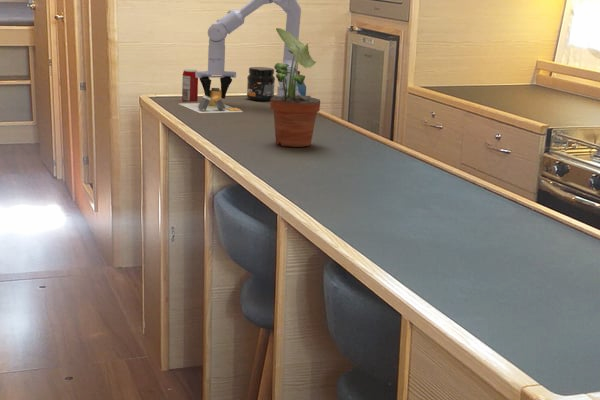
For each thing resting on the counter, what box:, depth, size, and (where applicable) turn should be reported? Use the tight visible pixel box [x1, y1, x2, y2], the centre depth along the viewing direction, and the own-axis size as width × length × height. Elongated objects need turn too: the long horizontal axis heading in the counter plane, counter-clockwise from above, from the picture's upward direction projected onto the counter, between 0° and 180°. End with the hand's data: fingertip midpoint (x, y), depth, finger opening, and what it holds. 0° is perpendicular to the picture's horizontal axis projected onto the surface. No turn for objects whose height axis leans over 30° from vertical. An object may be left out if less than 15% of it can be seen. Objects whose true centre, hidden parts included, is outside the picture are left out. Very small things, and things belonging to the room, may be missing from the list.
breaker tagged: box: [212, 95, 225, 111], centre depth 301 cm, size 4×2×5 cm, turn 29°
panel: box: [179, 102, 244, 114], centre depth 307 cm, size 20×16×2 cm
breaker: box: [198, 94, 211, 111], centre depth 299 cm, size 4×2×5 cm, turn 28°
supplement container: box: [246, 66, 276, 103], centre depth 338 cm, size 10×10×12 cm
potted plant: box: [269, 27, 321, 148], centre depth 251 cm, size 16×15×35 cm
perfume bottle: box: [296, 70, 307, 96], centre depth 335 cm, size 6×6×12 cm
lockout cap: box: [209, 87, 223, 106], centre depth 310 cm, size 4×4×6 cm
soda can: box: [181, 69, 199, 103], centre depth 321 cm, size 6×6×12 cm
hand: (215, 98), depth 310 cm, fingers open, 5 cm apart
